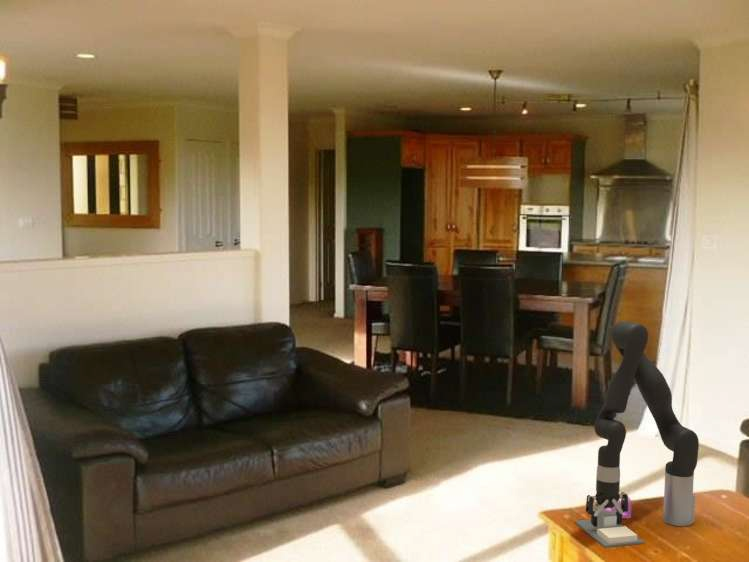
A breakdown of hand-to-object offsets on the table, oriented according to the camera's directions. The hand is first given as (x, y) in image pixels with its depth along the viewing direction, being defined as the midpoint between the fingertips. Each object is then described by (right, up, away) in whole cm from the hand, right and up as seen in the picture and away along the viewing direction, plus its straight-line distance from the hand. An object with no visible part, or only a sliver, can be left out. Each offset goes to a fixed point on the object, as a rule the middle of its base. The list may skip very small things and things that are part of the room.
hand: (606, 524), depth 285 cm
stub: (0, -2, 0) cm, 2 cm away
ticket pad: (0, -2, -1) cm, 3 cm away
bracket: (+7, -1, +17) cm, 19 cm away
